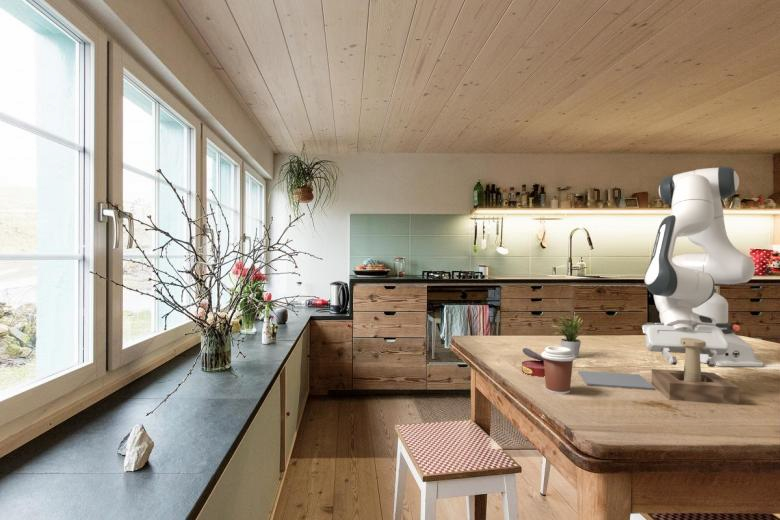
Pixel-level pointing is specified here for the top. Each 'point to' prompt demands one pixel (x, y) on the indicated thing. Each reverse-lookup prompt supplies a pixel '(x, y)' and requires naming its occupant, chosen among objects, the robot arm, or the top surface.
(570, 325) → the house plant
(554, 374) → the coffee cup
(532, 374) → the canned food
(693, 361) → the handle
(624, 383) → the mat
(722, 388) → the tray
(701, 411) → the top surface
